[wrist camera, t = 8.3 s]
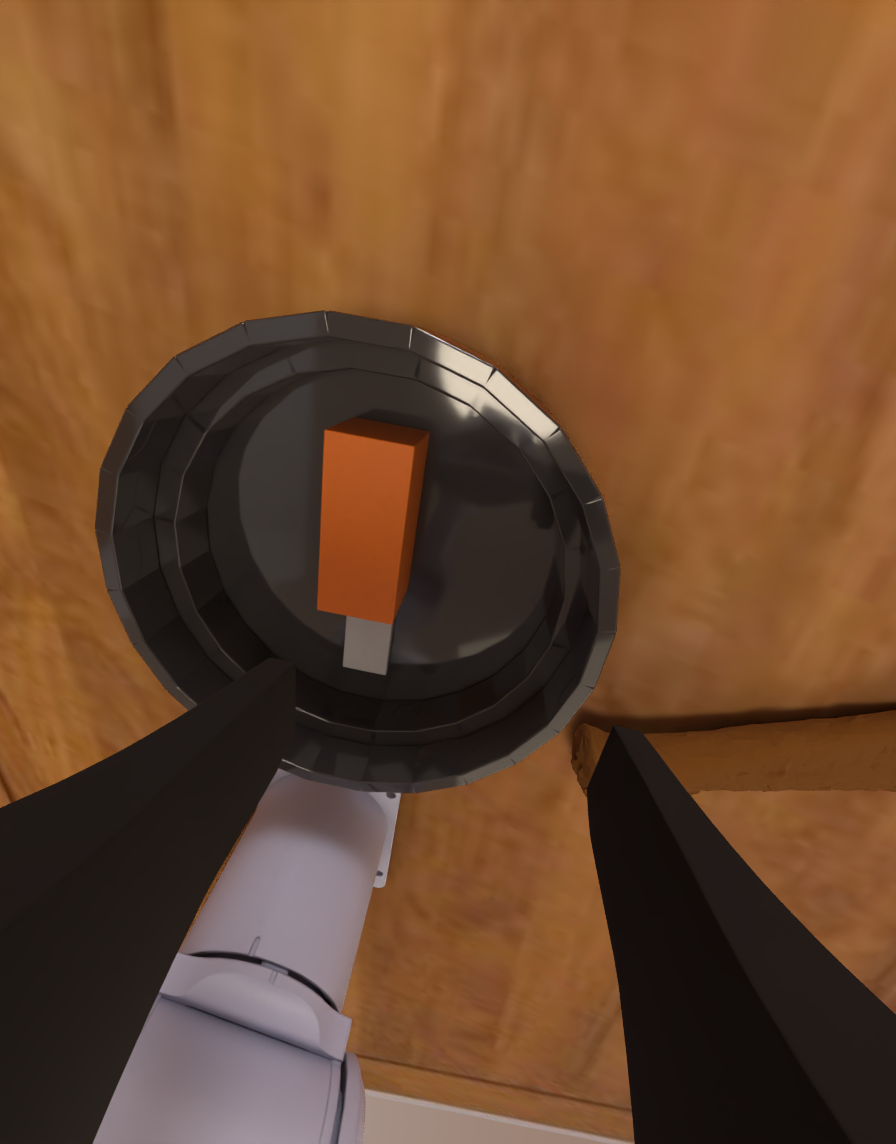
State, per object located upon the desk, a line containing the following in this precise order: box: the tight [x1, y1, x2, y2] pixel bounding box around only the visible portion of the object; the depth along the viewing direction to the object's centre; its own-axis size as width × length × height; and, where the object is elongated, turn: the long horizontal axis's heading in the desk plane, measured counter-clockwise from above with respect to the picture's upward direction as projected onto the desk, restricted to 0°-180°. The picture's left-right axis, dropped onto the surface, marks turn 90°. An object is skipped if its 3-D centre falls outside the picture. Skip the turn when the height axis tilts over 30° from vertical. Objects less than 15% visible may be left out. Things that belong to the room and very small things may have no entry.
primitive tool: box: [571, 710, 896, 797], centre depth 19 cm, size 19×6×4 cm, turn 99°
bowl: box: [95, 310, 620, 793], centre depth 17 cm, size 17×17×4 cm
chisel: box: [317, 417, 430, 675], centre depth 17 cm, size 11×3×3 cm, turn 171°
